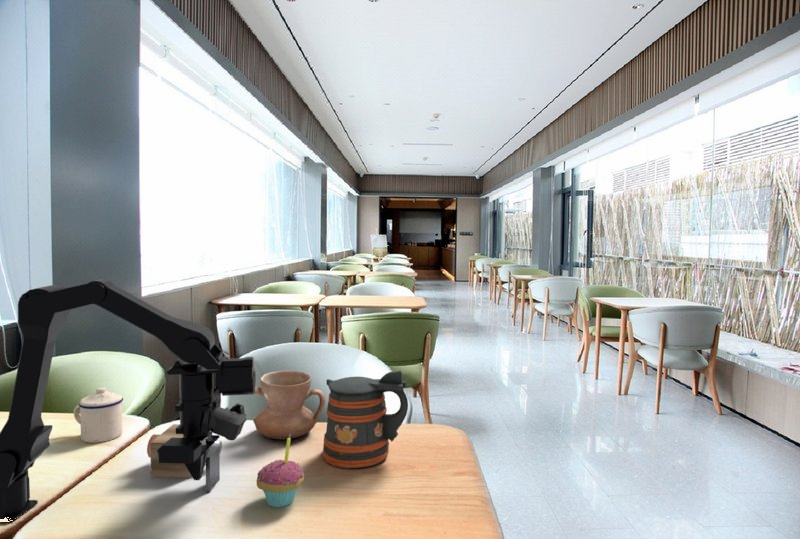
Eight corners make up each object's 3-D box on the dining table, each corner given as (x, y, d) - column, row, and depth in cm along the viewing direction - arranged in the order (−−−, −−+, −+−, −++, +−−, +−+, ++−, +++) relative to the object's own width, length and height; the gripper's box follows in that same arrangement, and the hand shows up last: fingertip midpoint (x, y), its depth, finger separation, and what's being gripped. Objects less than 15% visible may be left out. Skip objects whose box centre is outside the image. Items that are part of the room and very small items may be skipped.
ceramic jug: (242, 444, 118) (243, 384, 117) (258, 421, 133) (259, 367, 132) (320, 446, 119) (321, 387, 118) (327, 423, 133) (328, 369, 132)
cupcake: (285, 484, 100) (285, 424, 99) (314, 499, 94) (314, 436, 94) (247, 502, 93) (246, 438, 92) (275, 519, 88) (275, 451, 87)
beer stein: (412, 445, 119) (413, 361, 118) (402, 474, 105) (404, 379, 104) (333, 439, 122) (334, 357, 121) (313, 466, 108) (314, 373, 107)
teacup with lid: (132, 430, 126) (131, 384, 125) (104, 445, 117) (102, 395, 116) (90, 426, 128) (89, 380, 127) (59, 440, 119) (58, 391, 118)
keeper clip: (210, 491, 96) (209, 457, 96) (181, 491, 96) (180, 456, 96) (219, 479, 101) (219, 446, 101) (192, 478, 101) (191, 445, 101)
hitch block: (190, 477, 102) (190, 443, 102) (150, 476, 102) (150, 442, 102) (209, 456, 112) (209, 425, 112) (173, 455, 112) (173, 424, 112)
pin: (215, 462, 105) (215, 441, 104) (147, 461, 105) (146, 439, 104) (223, 453, 109) (223, 432, 109) (158, 452, 109) (157, 431, 109)
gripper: (222, 415, 84) (222, 507, 85) (255, 382, 102) (256, 458, 103) (154, 413, 84) (156, 505, 85) (200, 381, 102) (201, 457, 103)
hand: (197, 479), depth 94 cm, fingers closed
